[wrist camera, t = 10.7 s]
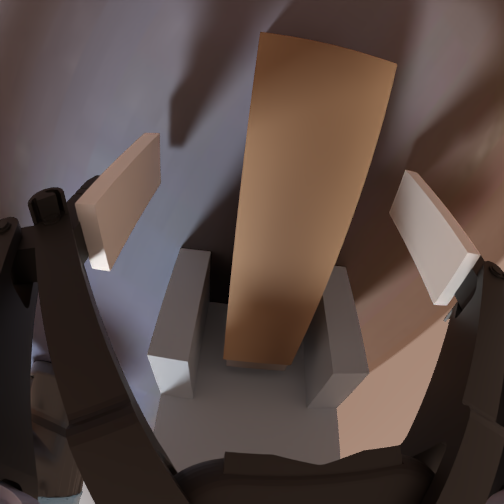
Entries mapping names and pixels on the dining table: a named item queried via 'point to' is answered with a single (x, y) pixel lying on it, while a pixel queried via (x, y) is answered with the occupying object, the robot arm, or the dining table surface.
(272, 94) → the rail
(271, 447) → the grey u-shaped bracket
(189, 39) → the dining table surface
